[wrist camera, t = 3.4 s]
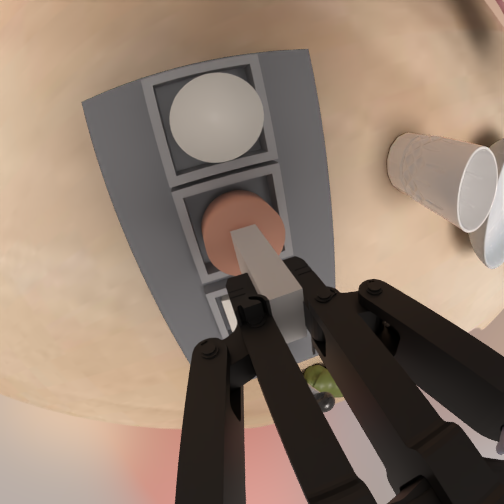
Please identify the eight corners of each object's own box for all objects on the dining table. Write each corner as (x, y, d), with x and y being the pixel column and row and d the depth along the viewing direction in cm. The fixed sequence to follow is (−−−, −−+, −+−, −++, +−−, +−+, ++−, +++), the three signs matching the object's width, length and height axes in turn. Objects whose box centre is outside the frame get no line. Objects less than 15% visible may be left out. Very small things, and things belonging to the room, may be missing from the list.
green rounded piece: (358, 400, 36) (299, 406, 35) (348, 376, 41) (292, 379, 39) (374, 379, 34) (312, 384, 32) (362, 354, 39) (303, 355, 37)
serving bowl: (494, 237, 39) (518, 253, 33) (438, 261, 35) (469, 285, 29) (510, 135, 28) (539, 145, 22) (457, 121, 25) (499, 131, 19)
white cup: (377, 196, 26) (448, 236, 18) (385, 121, 23) (466, 139, 14) (423, 196, 28) (487, 230, 20) (432, 132, 24) (502, 153, 16)
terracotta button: (265, 181, 18) (278, 191, 16) (277, 245, 21) (290, 262, 18) (192, 202, 18) (195, 215, 15) (212, 265, 20) (217, 285, 18)
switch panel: (292, 55, 18) (318, 44, 14) (324, 332, 34) (340, 357, 30) (93, 103, 16) (73, 101, 12) (203, 373, 32) (209, 402, 28)
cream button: (243, 72, 14) (254, 65, 12) (258, 145, 17) (271, 150, 15) (162, 90, 14) (160, 85, 12) (182, 165, 16) (182, 173, 14)
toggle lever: (273, 349, 27) (340, 394, 21) (277, 362, 28) (338, 405, 22) (259, 360, 26) (325, 409, 20) (263, 373, 27) (324, 420, 21)
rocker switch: (284, 282, 22) (286, 289, 22) (289, 316, 24) (291, 324, 24) (221, 294, 23) (221, 301, 22) (233, 327, 25) (233, 334, 24)
